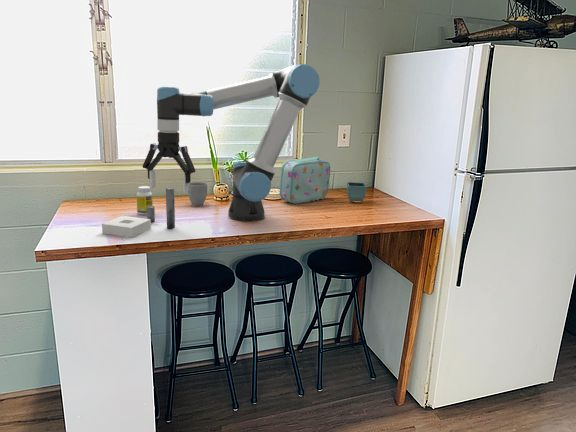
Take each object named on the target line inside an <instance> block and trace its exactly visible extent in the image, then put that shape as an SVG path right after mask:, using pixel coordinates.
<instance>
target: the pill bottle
mask: <svg viewBox="0 0 576 432" xmlns="http://www.w3.org/2000/svg"><path fill="white" fill-rule="evenodd" d="M137 189H138V192H137V193H136V213H137V214H138V215H141V216H144V215H145V216H147V209H146V207H147V206H154V205H153V193H152V192H151V188H150V185H141V186H138V188H137Z"/></svg>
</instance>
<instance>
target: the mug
mask: <svg viewBox="0 0 576 432" xmlns="http://www.w3.org/2000/svg"><path fill="white" fill-rule="evenodd" d="M187 195H188V199H189V201H190V204H191V205H192V207H193V206H194V207H200V206H201V207H202V206H204V205H205V201H206V198H207V195H208V183H207V182H204V181H192V182H191V181H190V183H188V191H187Z"/></svg>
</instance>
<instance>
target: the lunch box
mask: <svg viewBox="0 0 576 432" xmlns="http://www.w3.org/2000/svg"><path fill="white" fill-rule="evenodd" d="M330 177H331V164H330V162H328V161H326V160H323V159H321V158H320V157H319V156H313V157H307V158H298V159H287V160H286V161H284V162H283V164H282V166H281V171H280V183H279V196H280V199H281V200H282V201H287V202H289V203H291V204H294V205H295V204H296V205H297V204H302V203H303V202H304V203H312V202H311V201H313V202H315V200H317V201H320V200H319V199H322V198H324V199H325V198H326V196H327V195H328V191H329V187H330V186H329V185H330V179H331V178H330ZM322 200H323V199H322ZM304 203H303V204H304Z"/></svg>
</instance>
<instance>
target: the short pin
mask: <svg viewBox="0 0 576 432" xmlns="http://www.w3.org/2000/svg"><path fill="white" fill-rule="evenodd" d="M146 209H147V215H146V219H151V224H152V223H155V222H156V214H155V213H156V212H155V211H156V209H155V206H154V205H153V206H147V207H146Z"/></svg>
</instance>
